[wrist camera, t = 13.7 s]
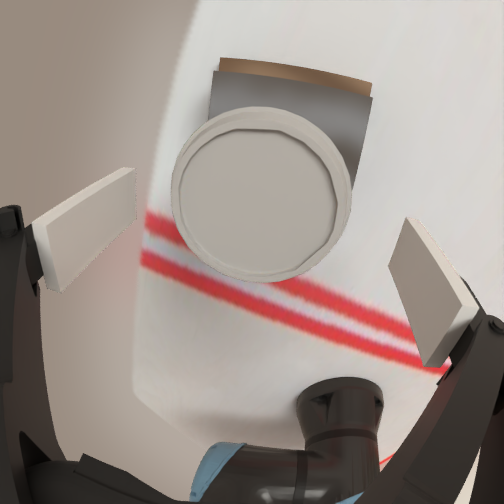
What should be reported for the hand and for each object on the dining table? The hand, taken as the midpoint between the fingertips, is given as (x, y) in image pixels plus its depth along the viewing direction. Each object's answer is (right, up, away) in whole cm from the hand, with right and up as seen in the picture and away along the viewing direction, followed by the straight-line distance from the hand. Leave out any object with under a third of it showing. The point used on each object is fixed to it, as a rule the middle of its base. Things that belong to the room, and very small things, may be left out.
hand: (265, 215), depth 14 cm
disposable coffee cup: (+1, +6, +11) cm, 13 cm away
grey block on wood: (+3, +9, +15) cm, 18 cm away
